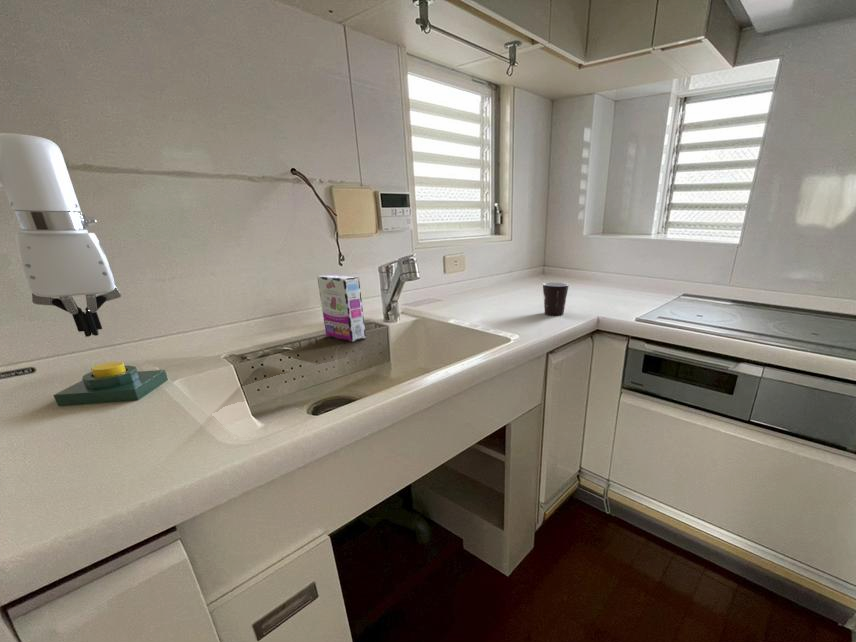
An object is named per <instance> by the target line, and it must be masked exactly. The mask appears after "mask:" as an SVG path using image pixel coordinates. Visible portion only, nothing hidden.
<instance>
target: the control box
mask: <svg viewBox="0 0 856 642" xmlns="http://www.w3.org/2000/svg"><path fill="white" fill-rule="evenodd" d="M124 366H125V369H126V372H124V373H121V374H118V375H114V376H108V377H99V378H95V377H94V376H93V373H92V371H89V372H88V373H86V374H84V375H82V376H81V377H82V378H81V379H82V380H81V381H78V382H76V383H74V384H71V385H70V386H69V387H67V388H64V389H63V390H60V391H58V392H57V393H55V394H53V398H54V400H55V402H56V405H57V406H58V407H69V406H70V407H71V406H82V405H95V404H96V405H97V404H107V403H108V404H110V403H124V402H136V401H140V400H141V399H143V398H145V396H147V395H148V394H150V393H151V392H153V391H154V390H156V389H157V388H159V387H160V386H162V385H163V384H165V383H166V382H167V381H168V380H169V378H168V376H167V372H166V369H157V370H156V369H155V370H141V371H140V370H139V371H138V369H137V367H136V366H134V365H124Z"/></svg>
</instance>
